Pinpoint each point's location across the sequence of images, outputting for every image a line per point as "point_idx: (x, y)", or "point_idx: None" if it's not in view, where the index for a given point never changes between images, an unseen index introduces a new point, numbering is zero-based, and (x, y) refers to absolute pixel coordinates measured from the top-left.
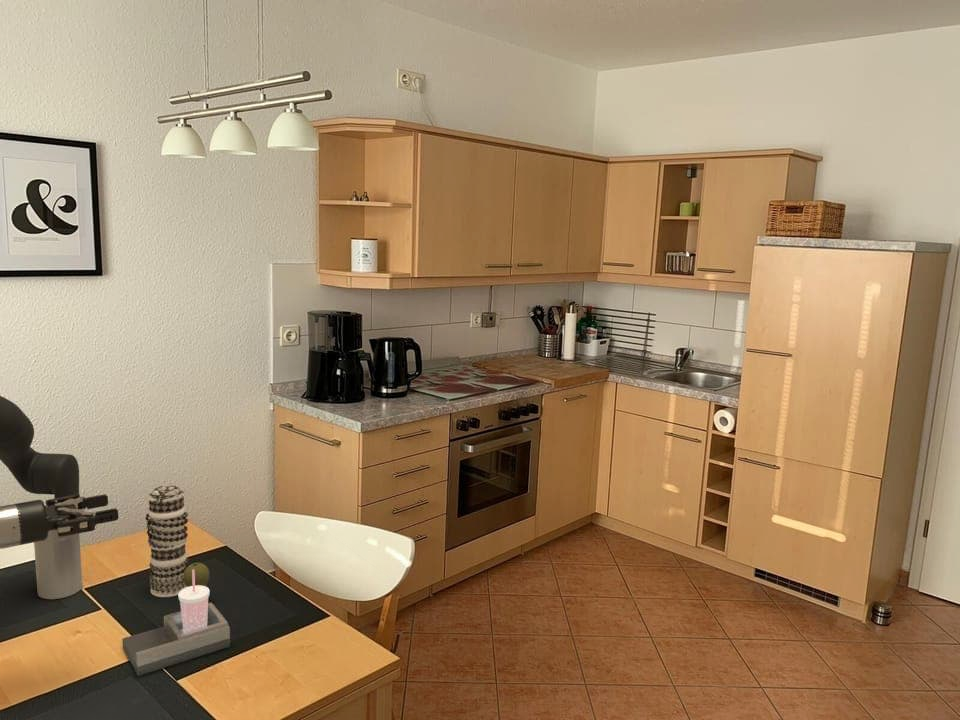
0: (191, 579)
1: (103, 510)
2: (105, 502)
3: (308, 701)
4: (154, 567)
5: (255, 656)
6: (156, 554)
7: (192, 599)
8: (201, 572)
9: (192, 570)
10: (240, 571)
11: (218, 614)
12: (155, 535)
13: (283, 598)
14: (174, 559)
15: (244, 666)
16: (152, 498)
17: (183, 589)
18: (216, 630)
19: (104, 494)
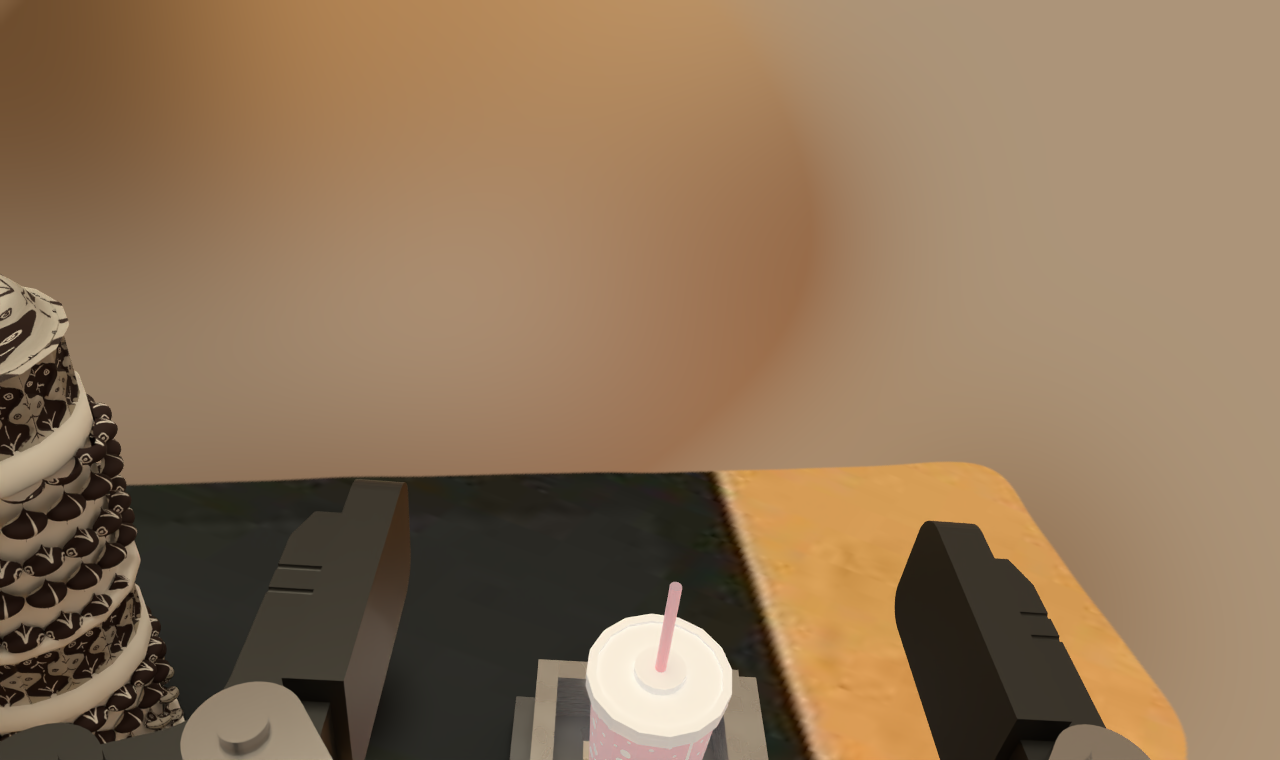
0: None
1: (986, 629)
2: (400, 563)
3: (1145, 672)
4: None
5: (842, 690)
6: (40, 673)
7: (728, 698)
8: None
9: (679, 591)
10: (229, 513)
11: None
12: (3, 590)
13: (527, 498)
14: (136, 630)
15: (892, 741)
16: None
17: (602, 696)
18: (758, 723)
19: (354, 486)
